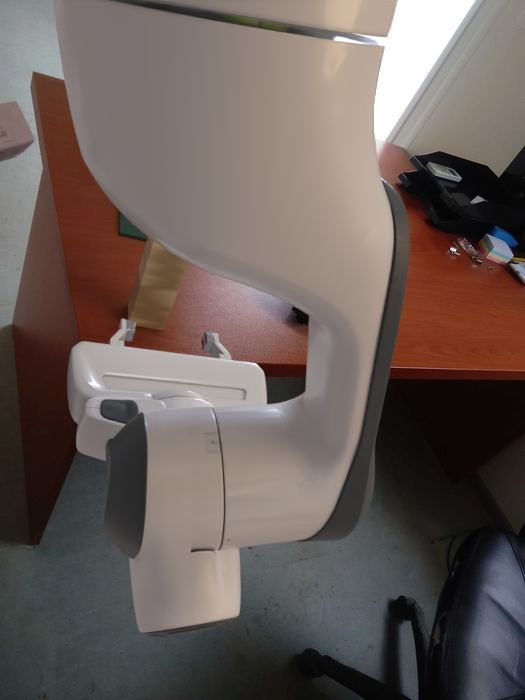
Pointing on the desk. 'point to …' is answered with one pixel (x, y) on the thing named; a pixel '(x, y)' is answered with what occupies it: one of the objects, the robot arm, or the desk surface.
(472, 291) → the desk surface
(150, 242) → the maple block
